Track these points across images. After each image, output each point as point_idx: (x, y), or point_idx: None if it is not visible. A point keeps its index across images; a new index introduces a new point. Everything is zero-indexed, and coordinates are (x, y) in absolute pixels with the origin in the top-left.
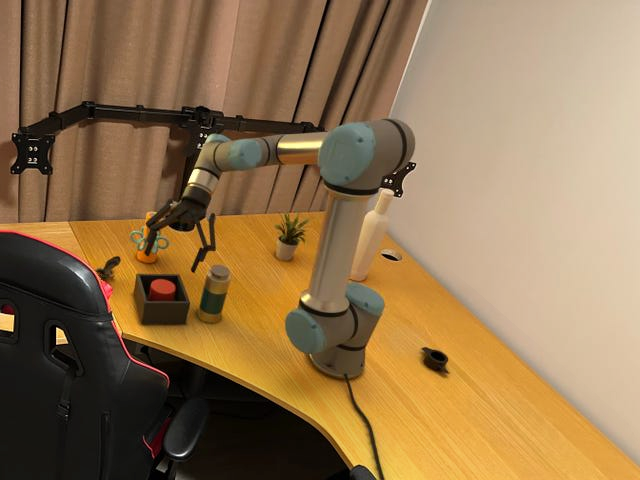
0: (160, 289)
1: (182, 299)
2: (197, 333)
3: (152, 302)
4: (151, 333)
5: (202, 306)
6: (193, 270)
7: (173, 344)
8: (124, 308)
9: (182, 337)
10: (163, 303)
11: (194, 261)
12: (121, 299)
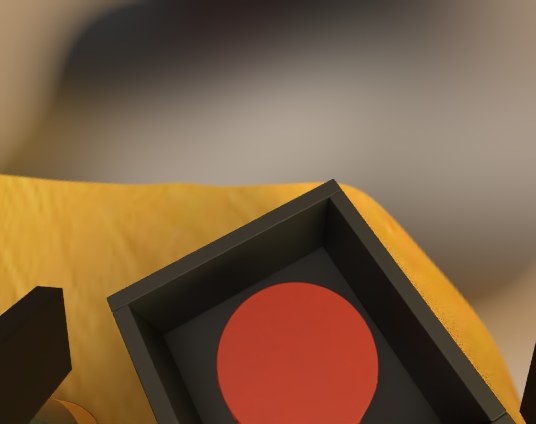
0: (300, 317)
1: (172, 384)
2: (89, 298)
3: (300, 199)
4: (268, 206)
5: (57, 407)
6: (35, 291)
7: (172, 190)
8: (439, 301)
9: (146, 243)
10: (246, 225)
11: (5, 333)
12: (489, 361)
